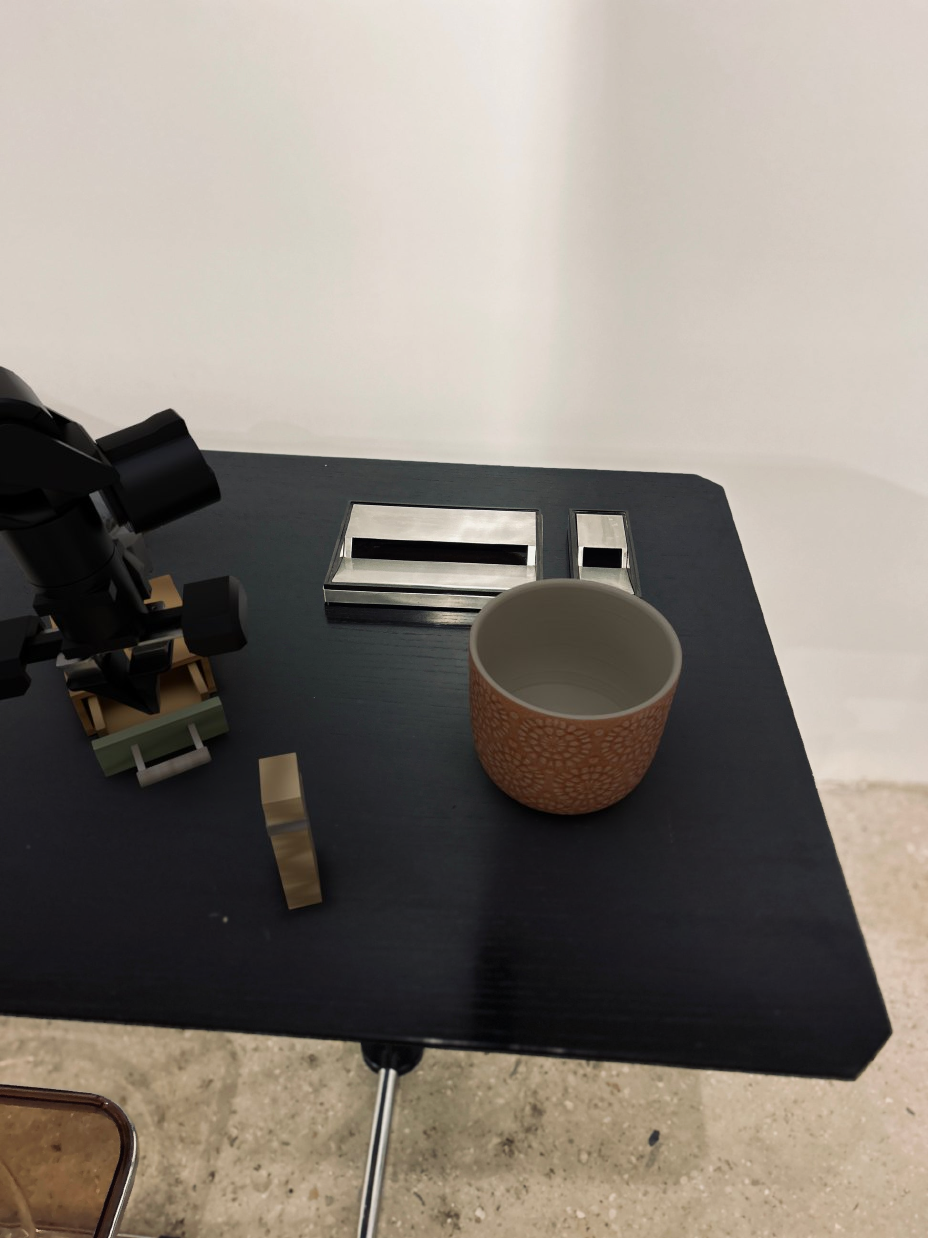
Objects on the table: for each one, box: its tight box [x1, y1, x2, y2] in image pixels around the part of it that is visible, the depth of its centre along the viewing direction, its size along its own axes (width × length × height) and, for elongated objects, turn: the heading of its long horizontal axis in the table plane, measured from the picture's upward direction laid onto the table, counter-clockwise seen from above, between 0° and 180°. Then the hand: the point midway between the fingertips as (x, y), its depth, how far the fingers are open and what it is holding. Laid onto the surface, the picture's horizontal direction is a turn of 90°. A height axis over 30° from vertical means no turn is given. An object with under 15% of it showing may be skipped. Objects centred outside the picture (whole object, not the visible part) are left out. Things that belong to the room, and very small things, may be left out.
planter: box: [467, 577, 683, 816], centre depth 67 cm, size 17×17×15 cm
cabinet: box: [49, 574, 218, 737], centre depth 80 cm, size 14×12×5 cm
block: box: [258, 752, 323, 910], centre depth 58 cm, size 3×4×14 cm, turn 14°
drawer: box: [87, 661, 230, 789], centre depth 73 cm, size 18×11×4 cm, turn 30°
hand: (155, 710), depth 62 cm, fingers closed
